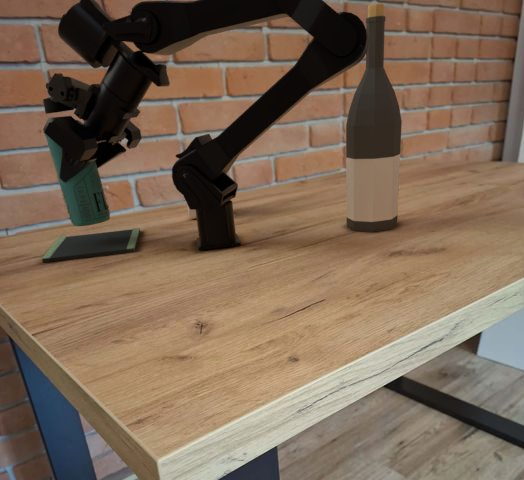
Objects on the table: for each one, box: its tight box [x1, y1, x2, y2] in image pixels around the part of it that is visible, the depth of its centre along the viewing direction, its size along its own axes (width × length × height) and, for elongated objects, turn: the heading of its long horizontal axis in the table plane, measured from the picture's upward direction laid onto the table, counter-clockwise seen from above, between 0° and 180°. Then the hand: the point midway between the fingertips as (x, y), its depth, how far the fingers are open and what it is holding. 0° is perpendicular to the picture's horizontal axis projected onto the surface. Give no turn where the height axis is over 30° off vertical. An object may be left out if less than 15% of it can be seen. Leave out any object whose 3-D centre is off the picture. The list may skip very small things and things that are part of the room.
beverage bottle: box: [42, 96, 111, 227], centre depth 79 cm, size 6×7×20 cm
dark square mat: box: [41, 227, 141, 263], centre depth 85 cm, size 14×14×1 cm
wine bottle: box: [345, 2, 403, 233], centre depth 76 cm, size 8×8×30 cm
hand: (72, 177), depth 80 cm, fingers closed on beverage bottle, 5 cm apart
